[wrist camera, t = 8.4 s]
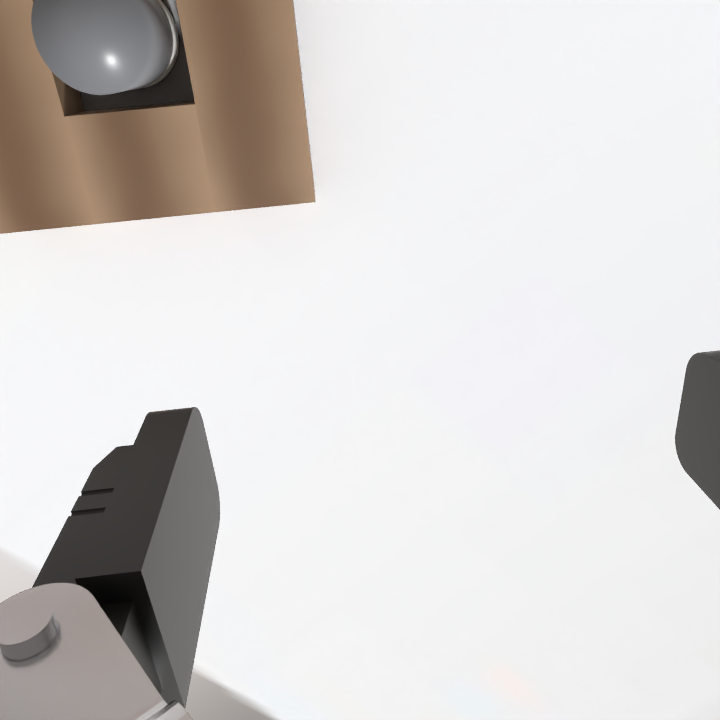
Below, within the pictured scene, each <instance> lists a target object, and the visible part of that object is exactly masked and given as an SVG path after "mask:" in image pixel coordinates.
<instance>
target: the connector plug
mask: <svg viewBox="0 0 720 720" xmlns="http://www.w3.org/2000/svg"><path fill="white" fill-rule="evenodd" d="M31 26H32V33H33V38H34V41H35V44H36V47H37V49H38V51H39V53H40V56H41V57H42V59H43V60H44V62H45V64H46V65H47V66H48V67H49V69H50V70H51V71H52V72H53V73H54V74H55V75H56V76H57V77H58V78H59V79H60V80H62V81H63V82H64V83H66V84H67V85H69V86H70V87H72V88H74V89H76V90H79V91H81V92H84V93H88V94H93V95H108V94H114V93H118V92H122V91H127V90H131V89H141V88H146V87H149V86H152V85H154V84H156V83H158V82H160V81H161V80H163V79H164V78H165V77H166V76H167V75H168V73H169V72H170V71H171V69H172V68H173V66H174V64H175V61H176V59H177V55H178V49H179V38H178V31H177V27H176V24H175V22H174V19H173V17H172V15H171V13H170V12H169V10H168V9H167V7H166V6H165V5H164V3H163V2H162V1H161V0H34V3H33V7H32V13H31Z"/></svg>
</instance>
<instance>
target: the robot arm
mask: <svg viewBox="0 0 720 720" xmlns="http://www.w3.org/2000/svg"><path fill="white" fill-rule="evenodd" d="M675 444H676V451H677V454H678V458H679V460H680V463H681V465H682V467H683V468H684V470H685V471H686V472H687V474H688V475H689V476H690V477H691V478H692V479H693V480H694V481H695V483H696V484H697V485H698V486H699V487H700V488H701V489H702V490H703V491H704V493H705V494H706V495H707V496H708V497H709V498H710V499H711V500H712V501H713V502H714V504H715V505H716V506H717V507H718V508H719V509H720V351H711V352H702V353H697V354H695V355H693V356H692V357H691V358H690V360H689V362H688V365H687V368H686V374H685V380H684V386H683V392H682V398H681V404H680V410H679V416H678V422H677V428H676V434H675ZM81 493H82V496H79V497H78V499H77V501H76V503H75V505H74V507H73V509H72V511H71V513H72V515H71V516H69V517H68V518H67V520H66V522H65V524H64V526H63V528H62V530H61V532H60V534H59V536H58V538H57V540H56V542H55V544H54V546H53V548H52V550H51V552H50V554H49V556H48V558H47V560H46V561H45V563H44V565H43V567H42V569H41V571H40V573H39V575H38V577H37V579H36V581H35V583H34V585H33V587H32V588H31V589H28V590H25V591H23V592H20V593H18V594H16V595H14V596H12V597H10V598H8V599H6V600H5V601H3V602H1V603H0V720H193V719H192V718H191V716H190V715H189V714H188V712H187V711H186V710H185V706H186V701H187V695H188V690H189V684H190V679H191V674H192V669H193V663H194V658H195V652H196V647H197V641H198V636H199V631H200V625H201V620H202V614H203V609H204V604H205V598H206V593H207V587H208V582H209V577H210V571H211V566H212V560H213V555H214V549H215V544H216V539H217V533H218V528H219V521H220V501H219V491H218V486H217V481H216V477H215V472H214V468H213V463H212V459H211V455H210V450H209V446H208V441H207V437H206V433H205V428H204V424H203V420H202V416H201V414H200V411H199V410H198V408H196V407H192V408H183V409H174V410H165V411H156V412H149V413H148V414H147V416H146V417H145V420H144V422H143V424H142V427H141V429H140V431H139V433H138V436H137V438H136V440H135V442H134V445H129V446H120V447H116V448H115V449H114V450H113V451H112V452H111V453H110V454H108V455H107V456H106V457H105V458H104V459H103V460H102V461H101V462H100V463H98V464H97V465H96V466H95V467H94V468H93V470H92V472H91V474H90V476H89V477H88V479H87V481H86V483H85V485H84V487H83V489H82V491H81Z"/></svg>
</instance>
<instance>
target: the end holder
mask: <svg viewBox="0 0 720 720" xmlns="http://www.w3.org/2000/svg"><path fill="white" fill-rule="evenodd" d="M33 3H34V0H0V234H2V233H12V232H22V231H31V230H41V229H51V228H61V227H71V226H81V225H91V224H101V223H111V222H121V221H131V220H141V219H151V218H161V217H171V216H181V215H191V214H201V213H211V212H221V211H231V210H241V209H251V208H260V207H270V206H280V205H290V204H300V203H310V202H315V190H314V181H313V172H312V163H311V154H310V145H309V137H308V128H307V119H306V110H305V101H304V93H303V84H302V75H301V66H300V57H299V49H298V40H297V31H296V22H295V13H294V4H293V0H176V4H177V9H178V14H179V20H180V25H181V31H182V36H183V41H184V47H185V52H186V58H187V63H188V68H189V74H190V79H191V84H192V90H193V95H194V101H187V102H176V103H166V104H155V105H145V106H134V107H123V108H113V109H102V110H92V111H85V110H84V106H83V102H82V98H81V94H80V91H79V90H76V89H74V88H72V87H70V86H69V85H67V84H66V83H64V82H63V81H62V80H60V79H59V78H58V77H57V76H56V75H55V74H54V73H53V72H52V71H51V70H50V69H49V67H48V66H47V65H46V64H45V62H44V60H43V59H42V57H41V56H40V53H39V51H38V49H37V47H36V44H35V41H34V38H33V33H32V26H31V13H32V7H33Z"/></svg>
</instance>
